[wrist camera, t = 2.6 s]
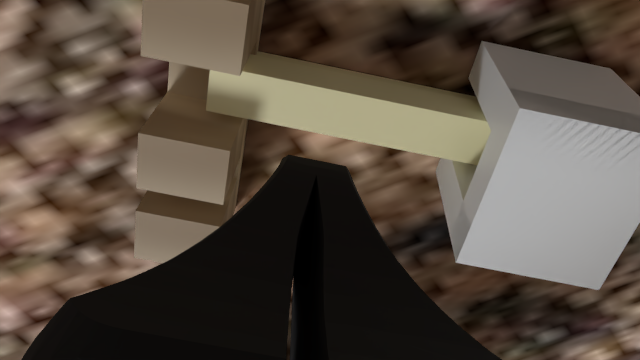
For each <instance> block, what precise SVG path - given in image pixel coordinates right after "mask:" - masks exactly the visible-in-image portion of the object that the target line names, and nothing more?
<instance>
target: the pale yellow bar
mask: <svg viewBox="0 0 640 360" xmlns="http://www.w3.org/2000/svg"><path fill="white" fill-rule="evenodd" d="M206 111H210V112H215V113H220V114H225V115H230V116H235V117H240V118H245V119H250V120H255V121H260V122H265V123H270V124H275V125H280V126H285V127H290V128H295V129H300V130H305V131H310V132H315V133H319V134H324V135H329V136H334V137H339V138H344V139H349V140H354V141H359V142H364V143H369V144H374V145H379V146H384V147H389V148H394V149H399V150H404V151H409V152H414V153H419V154H424V155H428V156H433V157H438V158H443V159H448V160H453V161H458V162H463V163H468V164H473V165H478V163H479V160H480V158H481V155H482V153H483V150H484V148H485V145H486V143H487V140H488V138H489V135H490V133H491V129H490V127H489V125H488V122H487V120H486V118H485V115H484V113H483V111H482V109H481V106H480V104H479V102H478V99H477V97H475V96H471V95H466V94H461V93H456V92H451V91H447V90H442V89H437V88H432V87H427V86H423V85H418V84H413V83H408V82H403V81H399V80H394V79H389V78H384V77H379V76H375V75H370V74H365V73H360V72H355V71H351V70H346V69H341V68H336V67H331V66H327V65H322V64H317V63H312V62H307V61H303V60H298V59H293V58H288V57H283V56H278V55H274V54H269V53H264V52H259V51H258V52H257V55H252V54H250V56H249V58H248V60H247V62H246V64H245V66H244V69H243V71H242V73H241V75H240V76H237V75H232V74H227V73H223V72H218V71H213V70H210V73H209V83H208V93H207V103H206Z"/></svg>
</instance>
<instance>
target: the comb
mask: <svg viewBox="0 0 640 360" xmlns="http://www.w3.org/2000/svg"><path fill="white" fill-rule="evenodd" d="M264 6H265V0H143V4H142V34H141V56H145V57H150V58H154V59H159V60H164V61H169V77H168V92H167V94H166V95H165V96H164V98H163V99H162V101H161V102H160V103H159V105H158V106H157V108H156V109H155V110H154V112H153V113H152V115H151V116H150V117H149V119H148V120H147V121H146V123H145V124H144V126H143V127H142V128H141V130H140V131H139V133H138V156H137V186H136V188H138V189H143V190H147V192H146V194H145V196H144V197H143V199H142V201H141V203H140V204H139V206H138V208H137V209H136V216H135V247H134V258H138V259H143V260H149V261H154V262H159V263H164V262H166V261H168V260H170V259H172V258H174V257H175V256H177V255H179V254H180V253H182V252H184V251H185V250H187V249H189V248H190V247H192V246H193V245H195V244H197V243H198V242H200V241H201V240H203V239H204V238H205V237H207V236H208V235H210V234H211V233H212V232H214V231H215V230H216V229H218V228H219V227H220V226H222V225H223V224H224V223H225V222H227V221H228V220H229V219H230V218H231V217H232V216H233V214H234V211H235V208H236V201H237V194H238V187H239V180H240V173H241V166H242V159H243V152H244V145H245V138H246V131H247V124H248V119H245V118H240V117H235V116H230V115H225V114H220V113H215V112H210V111H206V103H207V93H208V83H209V73H210V70H213V71H218V72H223V73H227V74H232V75H237V76H240V75H241V73H242V71H243V69H244V66H245V64H246V62H247V60H248V58H249V56H250V54H252V55H257V52H258V48H259V41H260V34H261V27H262V20H263V13H264Z"/></svg>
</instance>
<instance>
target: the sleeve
mask: <svg viewBox="0 0 640 360" xmlns="http://www.w3.org/2000/svg"><path fill="white" fill-rule="evenodd" d="M469 81H470V83H471V85H472V88H473V90H474V92H475V95H476V97H477V99H478V102H479V104H480V106H481V109H482V111H483V113H484V115H485V118H486V120H487V122H488V125H489V127H490V129H491V133H490V135H489V138H488V140H487V143H486V145H485V148H484V150H483V153H482V155H481V158H480V160H479V163H478V165H473V164H468V163H463V162H458V161H453V160H448V159H443V158H440V160H439V163H438V166H437V169H436V175H437V180H438V184H439V189H440V193H441V198H442V202H443V207H444V211H445V216H446V220H447V225H448V229H449V234H450V238H451V243H452V248H453V252H454V257H455V261H456V263H460V264H466V265H471V266H476V267H481V268H486V269H492V270H497V271H502V272H507V273H512V274H518V275H523V276H528V277H533V278H538V279H544V280H549V281H554V282H559V283H564V284H570V285H575V286H580V287H585V288H590V289H596V290H599V289H600V288H601V286H602V284H603V283H604V281H605V279H606V278H607V276H608V274H609V273H610V271H611V269H612V268H613V266H614V264H615V263H616V261H617V259H618V258H619V256H620V254H621V253H622V251H623V249H624V248H625V246H626V245H627V243H628V241H629V240H630V238H631V236H632V235H633V233H634V231H635V230H636V228H637V226H638V225H639V223H640V96H639V95H638V94H636V93H635V92H634V91H633V90H632V89H631V88H630V87H629V86H628V85H627V84H626V83H625V82H624V81H623V80H622V79H621V78H620V77H619V76H618V75H617V74H616V73H615V72H614V71H613V70H612V69H611V68H606V67H602V66H597V65H592V64H588V63H583V62H578V61H574V60H569V59H564V58H559V57H555V56H550V55H545V54H541V53H536V52H531V51H527V50H522V49H517V48H513V47H508V46H503V45H499V44H494V43H489V42H484V41H481V44H480V47H479V50H478V53H477V55H476V58H475V61H474V64H473V67H472V70H471V72H470V75H469Z"/></svg>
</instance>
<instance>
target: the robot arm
mask: <svg viewBox="0 0 640 360" xmlns="http://www.w3.org/2000/svg"><path fill="white" fill-rule="evenodd" d="M293 277H294V280H293ZM292 280H293V301H292V323H291V347H290V360H502V359H500V358H499V357H497V356H496V355H494V354H493V353H492V352H490V351H489V350H488V349H486V348H485V347H484V346H482V345H481V344H480V343H479V342H478V341H476V340H475V339H474V338H473V337H472V336H470V335H469V334H468V333H467V332H466V331H464V330H463V329H462V328H461V327H460V326H458V325H457V324H456V323H455V322H454V321H453V320H452V319H451V318H450V317H448V316H447V315H446V314H445V313H444V312H443V311H442V310H441V309H440V308H439V307H438V306H437V305H436V304H435V303H434V302H433V301H432V300H431V299H430V298H429V297H428V296H427V295H426V294H425V293H424V292H423V290H422V289H421V288H420V287H419V286H418V285H417V284H416V283H415V282H414V280H413V279H412V278H411V277H410V275H409V274H408V273H407V272H406V271H405V269H404V268H403V267H402V266H401V264H400V263H399V262H398V261H397V259H396V258H395V256H394V255H393V254H392V252H391V251H390V249H389V248H388V246H387V244H386V243H385V241H384V240H383V238H382V237H381V235H380V233H379V232H378V230H377V228H376V227H375V225H374V223H373V221H372V219H371V217H370V216H369V214H368V212H367V210H366V208H365V206H364V204H363V202H362V200H361V198H360V196H359V194H358V192H357V189H356V187H355V185H354V182H353V180H352V177H351V175H350V172H349V170H348V169H347V167H346V166H342V165H337V164H332V163H327V162H322V161H317V160H312V159H307V158H302V157H297V156H292V155H288V156H286V157H284V158H283V159H282V161H281V163H280V165H279V166H278V168H277V169H276V171H275V172H274V173H273V175H272V176H271V177H270V178H269V180H268V181H267V182H266V183H265V184H264V186H263V187H262V188H261V189H260V190H259V191H258V192H257V193H256V194H255V195H254V196H253V198H252V199H251V200H250V201H249V202H248V203H247V204H245V205H244V206H243V207H242V208H241V209H240V210H239V211H238V212H237V213H236V214H234V215H233V216H232V217H231V218H230V219H229V220H228V221H227V222H225V223H224V224H223V225H222V226H220V227H219V228H218V229H216V230H215V231H214V232H212V233H211V234H210V235H208V236H207V237H205V238H204V239H203V240H201V241H200V242H198V243H197V244H195V245H193V246H192V247H190V248H189V249H187V250H185V251H184V252H182V253H180V254H179V255H177V256H175V257H174V258H172V259H170V260H168V261H166V262H164V263H163V264H161V265H158V266H156V267H154V268H152V269H150V270H148V271H146V272H143V273H141V274H139V275H136V276H134V277H132V278H129V279H127V280H124V281H121V282H119V283H116V284H113V285H110V286H107V287H104V288H101V289H98V290H95V291H92V292H89V293H86V294H83V295H80V296H76V297H73V298H70V299H69V300H68V301H67V302H66V303H65V304H64V305H63V306H62V307H61V309H60V310H59V311H58V312H57V313H56V314H55V316H54V317H53V318H52V319H51V320H50V321H49V323H48V324H47V325H46V326H45V328H44V329H43V330H42V331H41V332H40V333H39V335H38V336H37V337H36V338H35V340H34V341H33V343H32V344H31V346H30V347H29V348H28V350H27V351H26V353H25V355H24V356H23V358H22V360H286V351H287V335H288V321H289V309H290V298H291V288H292Z"/></svg>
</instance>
